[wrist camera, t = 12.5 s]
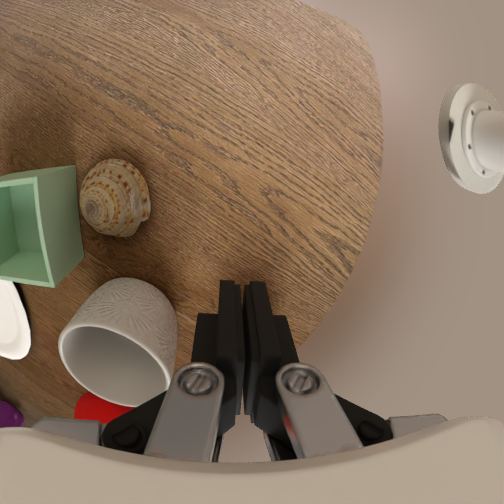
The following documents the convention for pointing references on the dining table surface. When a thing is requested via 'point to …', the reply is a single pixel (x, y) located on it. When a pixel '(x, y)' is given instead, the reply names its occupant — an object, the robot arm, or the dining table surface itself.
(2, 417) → the mug
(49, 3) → the dining table surface
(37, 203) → the tote
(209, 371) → the robot arm
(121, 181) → the seashell
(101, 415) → the tomato
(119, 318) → the planter
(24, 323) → the plate
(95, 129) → the dining table surface
